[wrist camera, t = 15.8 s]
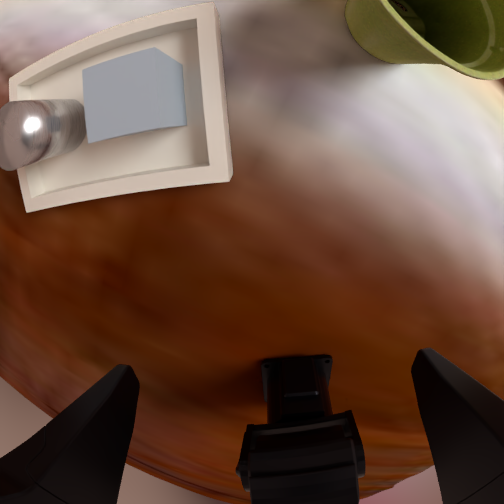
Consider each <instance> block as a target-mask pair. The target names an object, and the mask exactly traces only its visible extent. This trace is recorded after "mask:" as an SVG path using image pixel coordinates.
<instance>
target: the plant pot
mask: <svg viewBox="0 0 504 504" xmlns="http://www.w3.org/2000/svg"><path fill="white" fill-rule="evenodd" d="M394 1H397V2H399V3H400V4H402V5H403V6H404V7H405V8H406V10H407V12H405V11H403V9H401V8H400V7H399V6H398V5H397V4H395V3H394V2H392V1H391V0H348V1H347V4H346V7H345V18H346V21H347V24H348V27H349V29H350V32H351V35H352V36H353V38H354V39H355V40H356V42H357V43H358V44H359V45H360V46H361V47H362V48H363V49H364V50H366V51H367V52H368V53H369V54H371V55H373V56H374V57H376V58H378V59H380V60H383V61H386V62H389V63H395V64H423V63H425V64H442V65H445V66H448V67H450V68H452V69H453V70H455V71H457V72H459V73H461V74H464V75H466V76H469V77H472V78H476V79H482V80H496V79H501V78H503V77H504V0H394Z"/></svg>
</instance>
